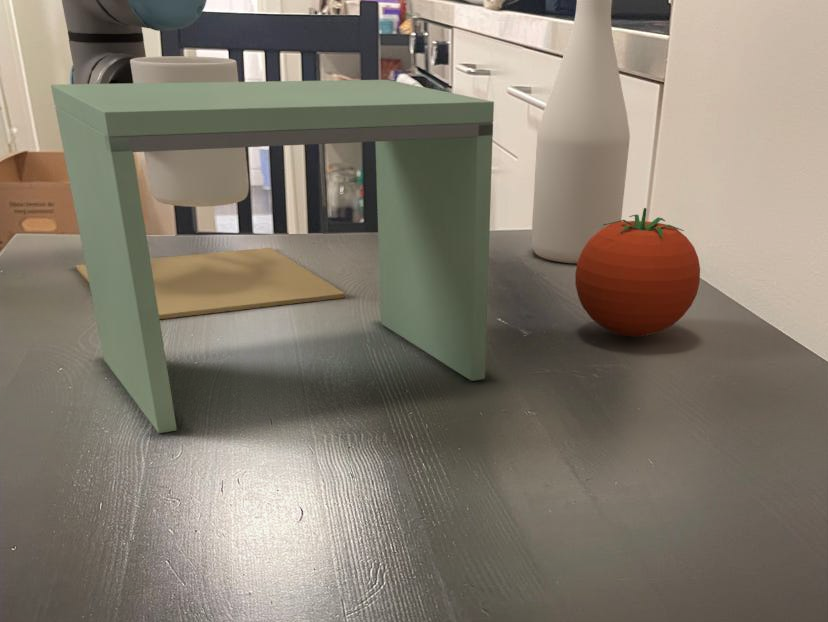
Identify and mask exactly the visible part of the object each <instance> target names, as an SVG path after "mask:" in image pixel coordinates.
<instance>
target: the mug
mask: <svg viewBox="0 0 828 622" xmlns="http://www.w3.org/2000/svg"><path fill="white" fill-rule="evenodd" d="M130 64H131V71H132V77H133V83H196V82H239V74H238V62H237V61H236V60H235V59H232V58H227V57H226V58H225V57H213V56H190V55H189V56H187V55H185V56H184V55H183V56H181V55H177V56H175V55H174V56H171V55H170V56H169V55H167V56H166V55H163V56H161V55H159V56H146V57H140V58H134V59H131V60H130ZM143 155H144V160H145V167H146V173H147V179H148V185H149V190H150V193H151V195H152V197H153V198H154V199H155V200H156V201H157V202H159V203H161V204H164V205H170V206H175V207H176V206H177V207H190V208H196V207H197V208H202V207H205V208H206V207H219V206H228V205H233V204H237V203H240V202H242V201H244V200H245V199H246V198H247V197H248V196H249V195H248V194H249V191H250V190H249V189H250V186H249V185H250V183H249V181H250V180H249V174H248V173H249V171H248V161H247V151H246V147H241V148H218V149H196V150H173V151H151V152H143Z"/></svg>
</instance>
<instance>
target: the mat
mask: <svg viewBox="0 0 828 622" xmlns="http://www.w3.org/2000/svg"><path fill="white" fill-rule="evenodd" d="M150 262H151V268H152V274H153V281H154V287H155V294H156V300H157V306H158V313H159V319H160V320H165V319H173V318H182V317H190V316H198V315H199V316H200V315H208V314H216V313H227V312H234V311H242V310H250V309H258V308H266V307H276V306H285V305H294V304H301V303H310V302H318V301H327V300H335V299H344V298H345V297H346V295H345V294H346V293H345V292H343V291H342V290H340V289H338V288H337V287H335V286H333V284H331V283H329V282H327V281H326V280H324V279H322V278H321V277H319V276H317V275H316V274H314V273H313V272H311V271H310V270H308V269H306V268H304V266H301V265H300V264H298V263H296V262H295V261H293V260H291V259H290V258H289V257H287V256H285V255H284V254H282V253H280V252H279V251H277V250H276V249H274V248H272V247H263V248H262V247H261V248H253V249H252V248H251V249H250V248H249V249H241V250H230V251H218V252H217V251H216V252H208V253H196V254H185V255H184V254H183V255H174V256H162V257H153V258H151V257H150ZM75 266H76V270H77V271H78V273H79V274H81V276H82V277H83V278H84V279H85V280H86V281H87V283H89V279H88V274H87V269H86V264H76V265H75Z"/></svg>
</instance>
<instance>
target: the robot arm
mask: <svg viewBox="0 0 828 622" xmlns="http://www.w3.org/2000/svg"><path fill="white" fill-rule="evenodd" d="M207 2H208V1H207V0H61V4H62V9H63V14H64V19H65V20H64V21H65V24H66V29H67V36H68V45H69V51H70V56H71V61H72V65H71V69H70V73H69V74H70V75H69V84H127V83H133V77H132V71H131V64H130V60H131V59H134V58H140V57H147V54H146V48H145V39H144V33H143V28H145V29H150V30H153V31H157V32H168V31H174V30H175V31H176V30H182V29H185V28H187V27H189V26H191V25H193V24H194V23H195V22H196V21H197V20H198V19H199V18H200V17H201V16H202V13H203V11H204V9H205V7H206V5H207Z"/></svg>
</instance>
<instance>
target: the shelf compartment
mask: <svg viewBox="0 0 828 622" xmlns="http://www.w3.org/2000/svg"><path fill="white" fill-rule="evenodd" d="M50 88H51V93H52V99H53V103H54V106H55V107H54V109H55V114H56V118H57V123H58V129H59V135H60V140H61V144H62V150H63V154H64V161H65V166H66V170H67V171H66V172H67V176H68V179H69V180H68V182H69V186H70V191H71V196H72V203H73V207H74V212H75V217H76V222H77V227H78V233H79V237H80V243H81V249H82V254H83V259H84V263H85V264H86V269H87V274H88V279H89V282H88V285H89V288H90V294H91V299H92V304H93V310H94V316H95V321H96V326H97V330H98V336H99V341H100V347H101V350H102V351H101V352H102V356H103V361H104V362H105V363H106V364H107V366H108V367H109V369H110V370H111V372H112V373H113V374H114V375H115V377H116V378H117V379H118V381H119V382H120V383H121V385H122V386H123V388H124V389H125V390H126V391H127V393H128V394H129V395H130V397H131V399H133V401H134V402H135V404H136V405H137V406H138V408H139V409H140V411H142V413H143V414H144V416H145V417H146V419H147V420H148V421H149V423H150V424H151V425H152V427H153V428H154V429H155V430H156V431H157V433H158V434H164V433H170V432H176V431H177V430H178V428H177V422H176V421H177V420H176V416H175V410H174V409H175V408H174V402H173V396H172V391H171V390H172V388H171V383H170V376H169V371H168V364H167V357H166V351H165V345H164V339H163V333H162V327H161V325H162V324H161V321H160V320H161V319H159V313H158V306H157V300H156V294H155V287H154V281H153V274H152V268H151V262H150V259H151V256H150V250H149V243H148V237H147V230H146V224H145V218H144V211H143V205H142V198H141V192H140V187H139V179H138V173H137V167H136V161H135V155H134V153H144V152H151V151H173V150H196V149H218V148H241V147H245V148H259V147H260V148H261V147H263V148H264V147H282V146H283V147H285V146H303V145H305V146H306V145H307V146H308V145H327V144H329V145H330V144H331V145H333V144H350V143H351V144H352V143H353V144H355V143H374V142H375V143H374V144H375V173H376V174H375V175H376V177H375V178H376V207H377V209H376V210H377V241H378V243H377V244H378V271H379V272H378V273H379V274H378V275H379V277H378V278H379V306H380V307H379V308H380V309H379V311H380V325H382V326H383V327H386V328H387V329H388V330H390V331H392V332H393V333H395V334H396V335H397V336H399V337H401V338H403V339H404V340H406V341H407V342H409V343H410V344H412V345H414V346H415V347H417V348H419V349H420V350H422V351H423V352H425V354H426V353H427V354H428V355H429V356H431V357H432V358H434V359H436V360H437V361H439V362H441V363H442V364H444V365H445V366H447V367H448V368H450V369H452V370H453V371H455V372H456V373H458V374H460V375H461V376H463V377H464V378H466V379H468V380H469V381H471V382H474V381H481V380H485V379H486V362H487V361H486V360H487V359H486V357H487V355H486V354H487V325H488V298H489V297H488V295H489V293H488V292H489V264H490V261H489V260H490V231H491V201H492V200H491V199H492V170H493V169H492V165H493V140H494V139H493V137H494V110H495V109H494V108H495V102H494V100H493V101H492V100H487V99H482V98H477V97H474V96H473V97H472V96H468V95H464V94H459V93H453V92H449V91H444V90H440V89H434V88H430V87H424V86H421V85H420V86H419V85H414V84H410V83H405V82H400V81H395V80H391V79H343V80H341V79H340V80H335V79H334V80H333V79H332V80H274V81H272V80H271V81H266V80H265V81H238V82H196V83H127V84H70V83H68V84H66V83H64V84H50Z"/></svg>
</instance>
